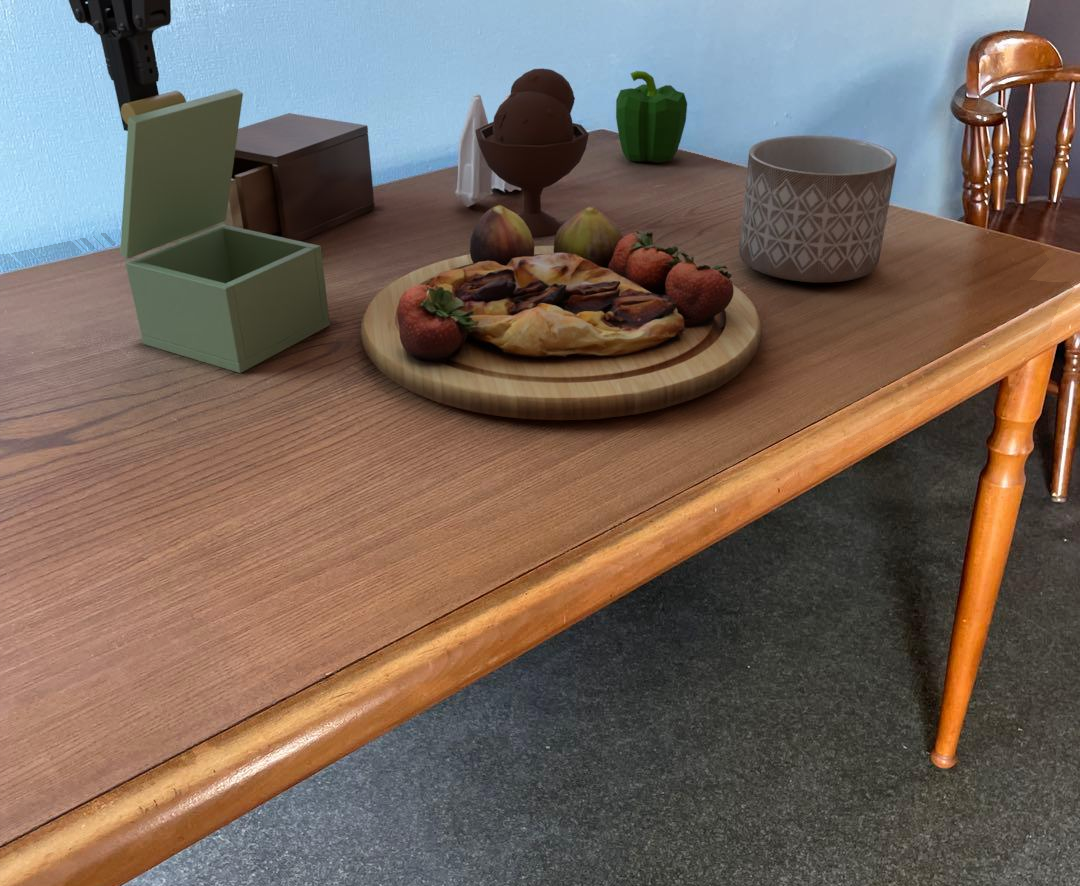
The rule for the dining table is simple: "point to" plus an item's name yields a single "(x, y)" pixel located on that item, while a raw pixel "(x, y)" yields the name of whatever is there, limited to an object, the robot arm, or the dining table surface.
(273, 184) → the drawer
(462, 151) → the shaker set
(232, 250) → the chest
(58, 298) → the dining table surface
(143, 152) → the chest lid
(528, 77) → the ice cream bowl
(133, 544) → the dining table surface
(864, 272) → the planter
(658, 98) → the bell pepper
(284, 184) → the cabinet
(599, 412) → the wooden plate
